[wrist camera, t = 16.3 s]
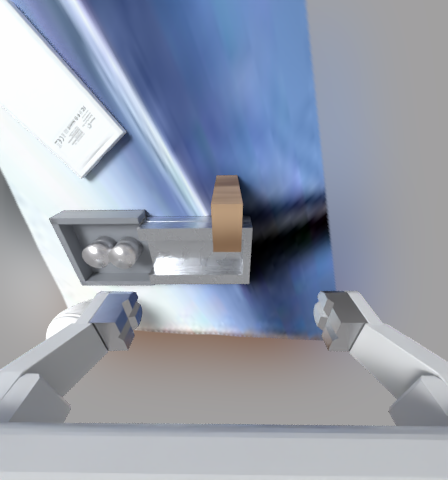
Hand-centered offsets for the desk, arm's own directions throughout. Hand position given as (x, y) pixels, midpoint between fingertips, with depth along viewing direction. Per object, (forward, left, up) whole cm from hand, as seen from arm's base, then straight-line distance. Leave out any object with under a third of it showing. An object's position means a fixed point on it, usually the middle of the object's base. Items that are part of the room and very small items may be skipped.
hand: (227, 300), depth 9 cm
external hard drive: (-9, -18, -19) cm, 28 cm away
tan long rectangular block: (+1, 0, -19) cm, 18 cm away
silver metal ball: (+8, -14, -18) cm, 24 cm away
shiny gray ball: (+8, -17, -18) cm, 26 cm away
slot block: (+8, -4, -18) cm, 21 cm away
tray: (+8, -16, -18) cm, 26 cm away
